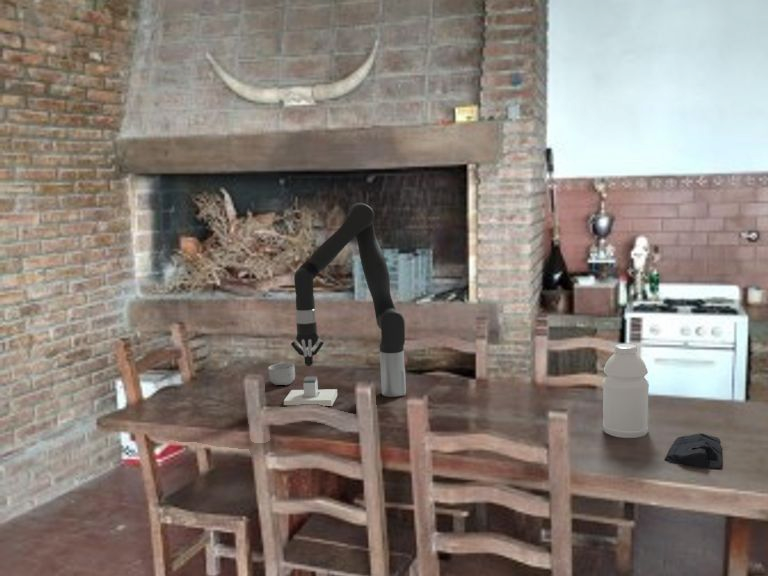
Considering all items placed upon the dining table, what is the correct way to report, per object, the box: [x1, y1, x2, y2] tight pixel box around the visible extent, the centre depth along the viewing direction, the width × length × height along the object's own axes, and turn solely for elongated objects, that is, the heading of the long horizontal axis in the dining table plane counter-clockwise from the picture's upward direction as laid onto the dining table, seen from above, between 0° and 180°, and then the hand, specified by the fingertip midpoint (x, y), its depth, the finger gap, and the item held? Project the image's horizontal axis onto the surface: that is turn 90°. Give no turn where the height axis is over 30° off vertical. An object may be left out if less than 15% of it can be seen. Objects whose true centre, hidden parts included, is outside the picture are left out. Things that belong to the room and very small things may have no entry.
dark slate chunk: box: [663, 432, 723, 470], centre depth 219 cm, size 15×22×5 cm
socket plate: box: [283, 388, 338, 407], centre depth 287 cm, size 18×14×2 cm
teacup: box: [267, 361, 296, 386], centre depth 314 cm, size 14×11×8 cm
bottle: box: [602, 343, 650, 439], centre depth 238 cm, size 14×14×28 cm
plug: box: [302, 376, 319, 398], centre depth 287 cm, size 4×5×9 cm
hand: (309, 365), depth 285 cm, fingers closed
